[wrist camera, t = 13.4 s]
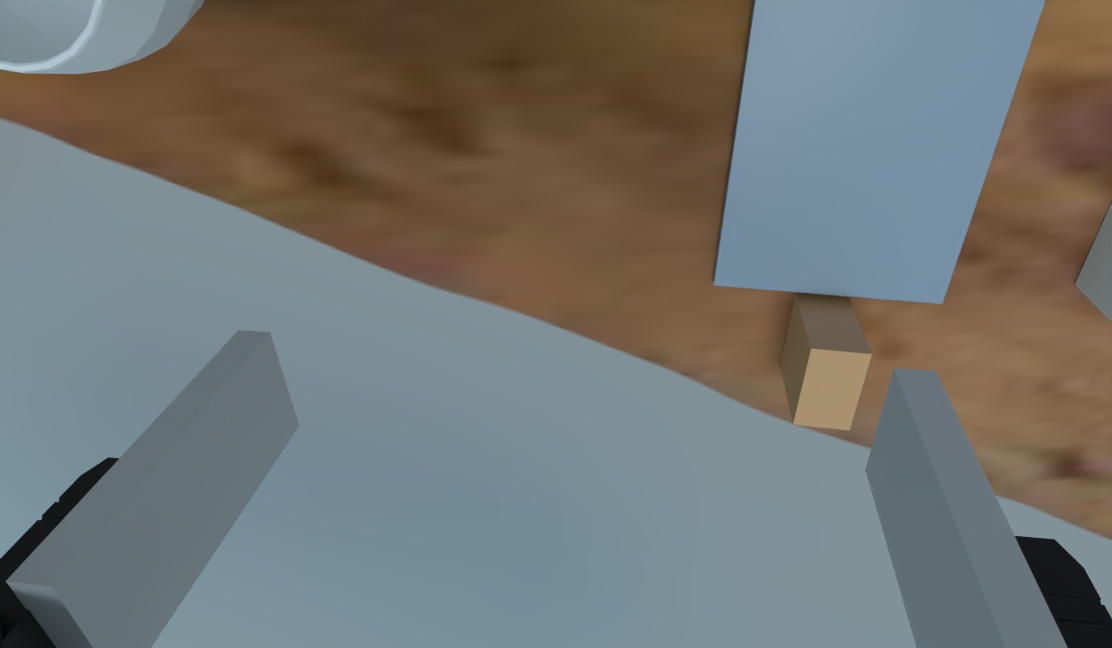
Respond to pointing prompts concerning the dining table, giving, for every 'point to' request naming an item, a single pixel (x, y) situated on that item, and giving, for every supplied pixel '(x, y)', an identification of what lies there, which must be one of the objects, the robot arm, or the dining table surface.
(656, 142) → the dining table surface
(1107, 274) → the tub
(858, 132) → the lid
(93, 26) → the cup
